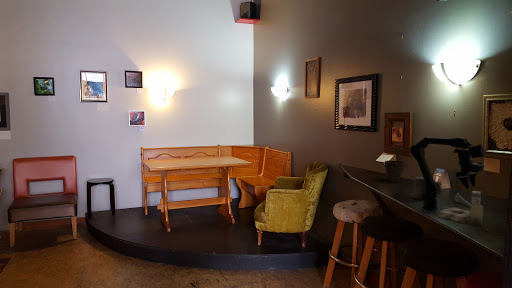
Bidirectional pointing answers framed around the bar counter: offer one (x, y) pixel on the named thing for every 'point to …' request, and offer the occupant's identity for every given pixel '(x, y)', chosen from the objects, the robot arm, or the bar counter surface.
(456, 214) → the bore block
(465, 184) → the robot arm
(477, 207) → the beige rectangular block
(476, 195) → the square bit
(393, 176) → the plant pot
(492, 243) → the bar counter surface
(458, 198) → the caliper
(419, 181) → the pillar candle
